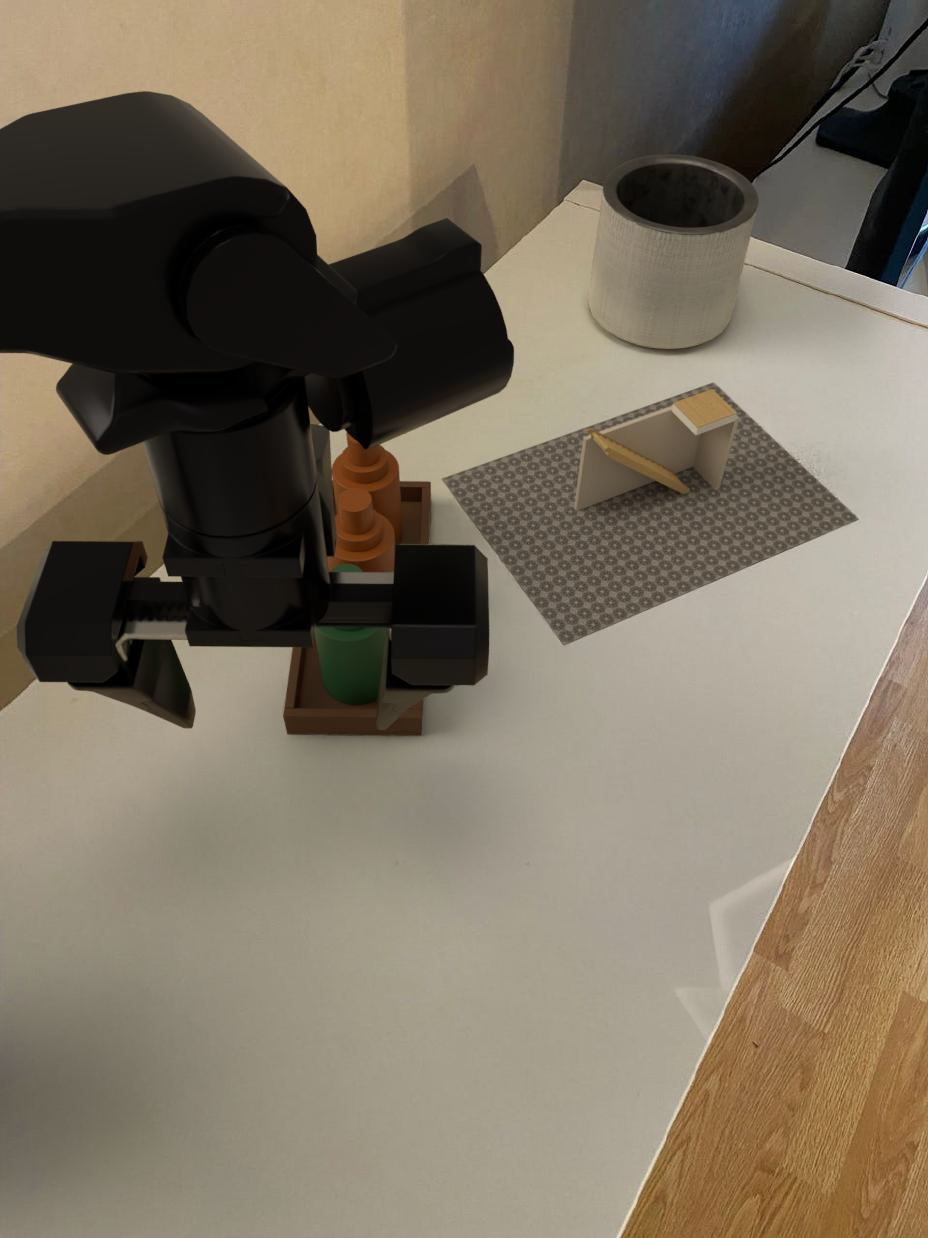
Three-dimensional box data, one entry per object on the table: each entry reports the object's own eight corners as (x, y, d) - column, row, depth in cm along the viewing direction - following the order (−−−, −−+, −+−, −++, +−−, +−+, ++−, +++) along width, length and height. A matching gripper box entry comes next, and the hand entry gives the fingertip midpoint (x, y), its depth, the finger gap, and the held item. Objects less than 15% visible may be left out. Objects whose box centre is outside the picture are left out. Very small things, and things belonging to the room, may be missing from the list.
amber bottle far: (355, 568, 69) (343, 464, 62) (330, 526, 72) (316, 422, 64) (413, 546, 71) (408, 442, 63) (386, 506, 73) (379, 402, 66)
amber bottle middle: (348, 637, 66) (335, 535, 58) (321, 591, 68) (306, 488, 61) (409, 613, 67) (404, 510, 60) (381, 568, 69) (373, 465, 62)
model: (719, 488, 75) (742, 407, 69) (597, 536, 72) (611, 455, 66) (693, 462, 77) (714, 380, 71) (573, 508, 74) (584, 426, 68)
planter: (567, 334, 87) (580, 212, 78) (611, 259, 94) (627, 140, 86) (710, 370, 84) (740, 248, 76) (744, 290, 92) (775, 170, 83)
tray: (422, 736, 62) (421, 717, 60) (287, 734, 62) (282, 716, 60) (431, 501, 74) (430, 481, 73) (319, 499, 74) (316, 479, 73)
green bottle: (339, 716, 62) (324, 618, 54) (311, 664, 64) (294, 563, 57) (404, 688, 63) (398, 589, 56) (375, 639, 66) (365, 537, 58)
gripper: (490, 349, 42) (478, 595, 54) (35, 343, 42) (125, 592, 54) (497, 546, 35) (481, 778, 47) (-50, 540, 35) (76, 775, 47)
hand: (286, 720), depth 49 cm, fingers open, 9 cm apart
